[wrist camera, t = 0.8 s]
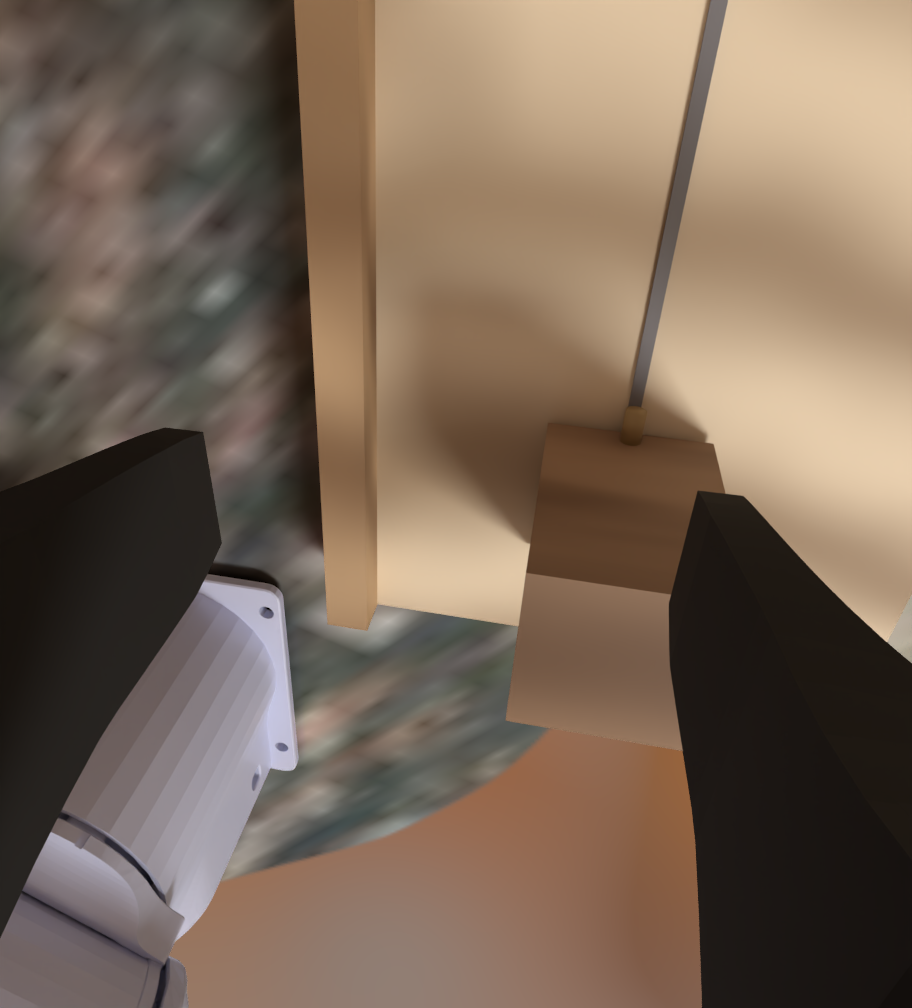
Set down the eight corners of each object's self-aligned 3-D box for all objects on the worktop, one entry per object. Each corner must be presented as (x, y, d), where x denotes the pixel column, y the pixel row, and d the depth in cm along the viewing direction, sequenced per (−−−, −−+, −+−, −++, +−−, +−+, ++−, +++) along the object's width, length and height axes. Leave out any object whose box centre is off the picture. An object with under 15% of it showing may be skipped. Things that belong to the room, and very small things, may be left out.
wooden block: (677, 572, 20) (699, 753, 15) (530, 551, 21) (505, 720, 16) (721, 413, 18) (766, 571, 13) (552, 393, 18) (530, 537, 13)
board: (853, 644, 23) (879, 713, 21) (341, 566, 25) (314, 622, 22) (1402, -496, 11) (1615, -631, 8) (301, -491, 12) (233, -601, 10)
